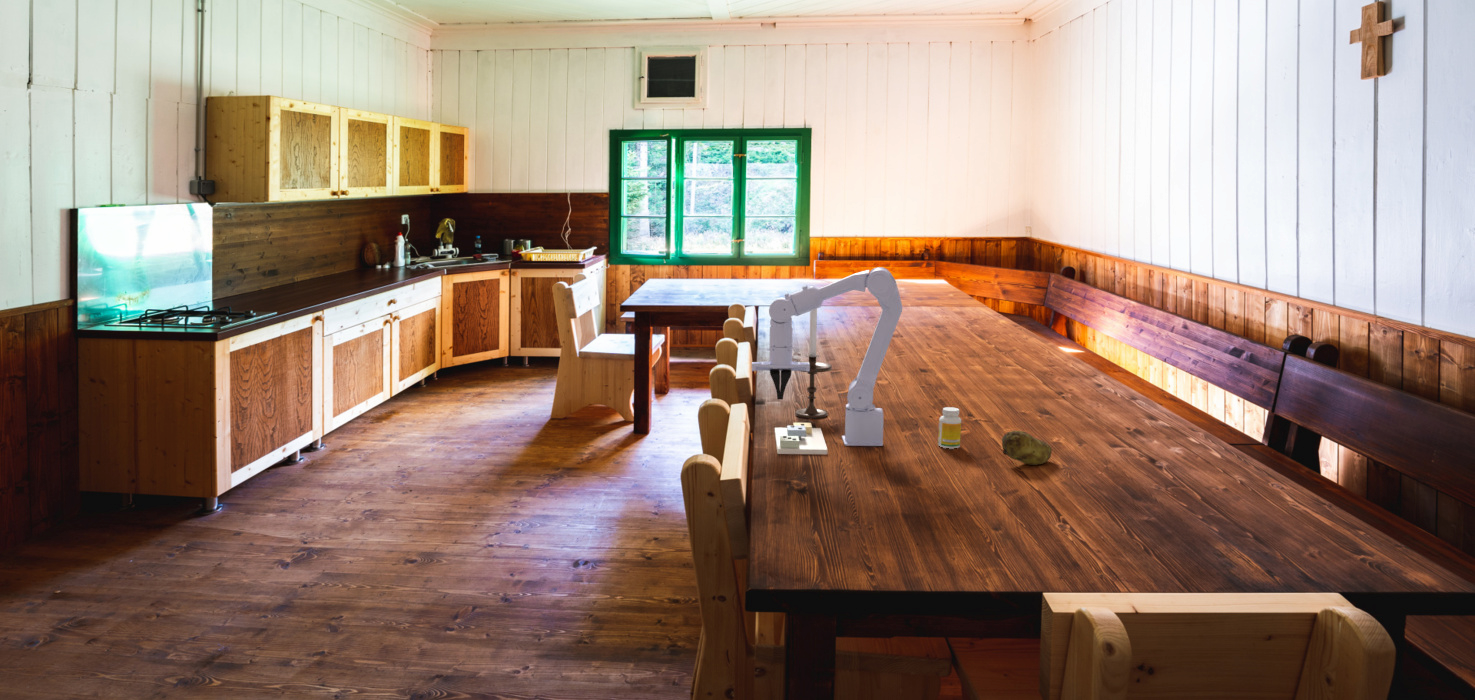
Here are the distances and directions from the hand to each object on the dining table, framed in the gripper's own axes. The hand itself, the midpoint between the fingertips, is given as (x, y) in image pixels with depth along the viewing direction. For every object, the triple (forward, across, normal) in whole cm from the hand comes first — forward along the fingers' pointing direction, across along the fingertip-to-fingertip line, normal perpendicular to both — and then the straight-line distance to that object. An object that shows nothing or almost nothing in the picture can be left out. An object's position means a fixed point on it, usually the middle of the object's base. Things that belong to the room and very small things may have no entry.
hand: (780, 398), depth 226 cm
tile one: (+9, -6, -2) cm, 11 cm away
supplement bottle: (+11, -42, +6) cm, 44 cm away
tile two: (+8, -4, +4) cm, 10 cm away
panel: (+10, -5, +4) cm, 12 cm away
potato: (+11, -57, +20) cm, 61 cm away
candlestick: (+11, -10, -25) cm, 29 cm away
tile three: (+9, -2, +11) cm, 14 cm away
